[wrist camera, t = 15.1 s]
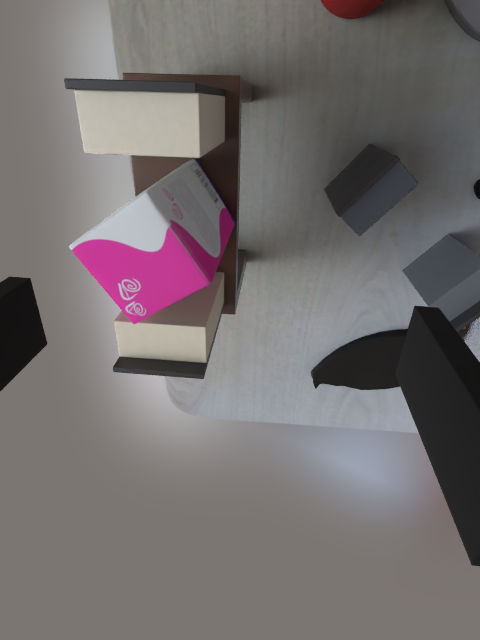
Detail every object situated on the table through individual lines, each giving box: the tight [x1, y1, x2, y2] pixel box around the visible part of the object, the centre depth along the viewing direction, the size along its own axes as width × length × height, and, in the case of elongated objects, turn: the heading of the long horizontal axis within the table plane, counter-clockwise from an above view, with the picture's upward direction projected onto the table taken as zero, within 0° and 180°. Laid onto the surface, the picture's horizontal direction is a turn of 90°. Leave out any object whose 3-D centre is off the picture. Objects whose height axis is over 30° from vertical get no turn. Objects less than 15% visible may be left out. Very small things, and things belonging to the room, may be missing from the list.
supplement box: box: [69, 158, 235, 324], centre depth 25 cm, size 6×6×12 cm
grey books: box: [324, 144, 480, 332], centre depth 37 cm, size 16×6×10 cm, turn 48°
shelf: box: [123, 73, 253, 314], centre depth 36 cm, size 18×8×13 cm, turn 179°
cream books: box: [64, 78, 225, 379], centre depth 26 cm, size 16×6×10 cm, turn 179°
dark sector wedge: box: [311, 329, 408, 390], centre depth 50 cm, size 8×14×2 cm, turn 102°
